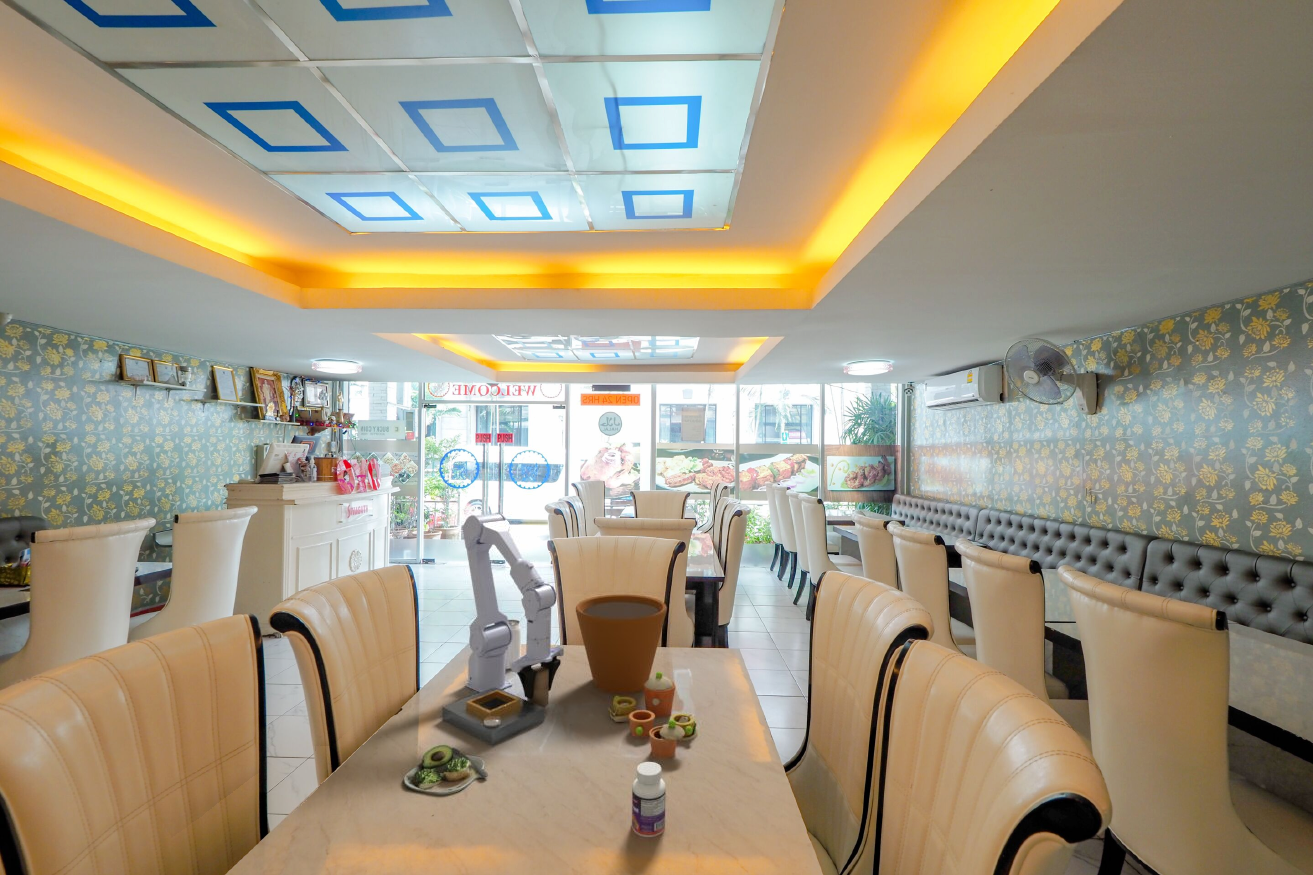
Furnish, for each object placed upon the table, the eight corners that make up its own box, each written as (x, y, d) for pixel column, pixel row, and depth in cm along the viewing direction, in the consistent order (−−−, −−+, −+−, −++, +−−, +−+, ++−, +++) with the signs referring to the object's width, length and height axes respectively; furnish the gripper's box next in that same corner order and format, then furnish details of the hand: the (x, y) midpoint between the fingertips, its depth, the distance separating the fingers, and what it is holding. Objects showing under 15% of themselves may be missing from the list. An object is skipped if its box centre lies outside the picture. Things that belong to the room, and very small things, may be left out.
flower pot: (556, 680, 152) (558, 604, 153) (626, 659, 168) (627, 590, 169) (612, 711, 135) (613, 625, 135) (684, 684, 151) (685, 607, 151)
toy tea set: (602, 713, 134) (602, 671, 135) (661, 700, 141) (661, 660, 142) (653, 769, 111) (653, 718, 111) (720, 750, 118) (721, 703, 118)
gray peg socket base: (442, 720, 129) (442, 699, 129) (494, 699, 140) (494, 680, 141) (491, 746, 118) (492, 724, 118) (544, 721, 129) (544, 700, 130)
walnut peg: (522, 704, 138) (523, 670, 138) (538, 697, 142) (539, 664, 142) (536, 710, 135) (537, 675, 135) (552, 703, 139) (553, 669, 139)
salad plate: (506, 765, 112) (506, 746, 112) (462, 806, 99) (462, 785, 99) (442, 752, 117) (442, 734, 117) (392, 790, 104) (392, 770, 104)
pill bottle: (631, 818, 96) (631, 759, 96) (663, 817, 96) (664, 758, 96) (632, 840, 90) (633, 778, 91) (666, 839, 91) (667, 776, 91)
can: (523, 661, 165) (524, 619, 165) (516, 670, 159) (516, 626, 159) (501, 660, 166) (502, 618, 166) (493, 669, 159) (494, 625, 160)
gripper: (525, 648, 130) (524, 708, 130) (572, 632, 142) (571, 688, 142) (505, 641, 135) (505, 700, 134) (552, 626, 146) (552, 680, 146)
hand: (537, 693), depth 138 cm, fingers closed on walnut peg, 5 cm apart
